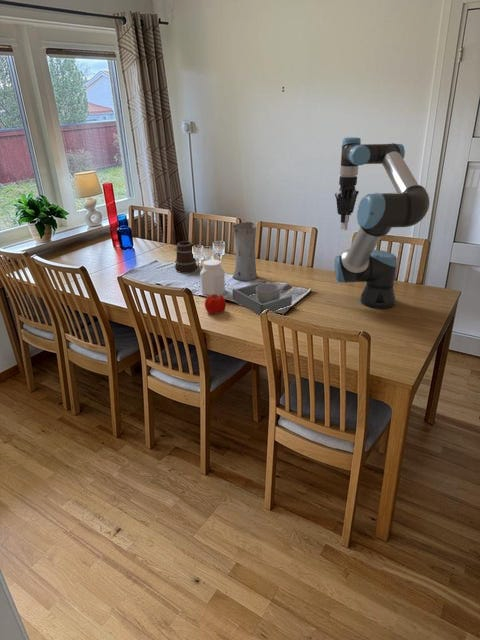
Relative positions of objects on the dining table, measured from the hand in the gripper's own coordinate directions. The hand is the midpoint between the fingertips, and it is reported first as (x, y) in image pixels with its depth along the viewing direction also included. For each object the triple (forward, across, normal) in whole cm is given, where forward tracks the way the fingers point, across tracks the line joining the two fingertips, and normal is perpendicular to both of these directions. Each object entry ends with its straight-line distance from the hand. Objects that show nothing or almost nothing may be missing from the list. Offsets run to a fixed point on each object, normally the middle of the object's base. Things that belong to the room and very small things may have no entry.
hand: (343, 229), depth 202 cm
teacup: (+30, +37, -8) cm, 48 cm away
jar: (+30, +51, -34) cm, 68 cm away
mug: (+30, +44, -72) cm, 89 cm away
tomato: (+30, +62, -13) cm, 70 cm away
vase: (+30, +28, -40) cm, 57 cm away
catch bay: (+29, +40, -9) cm, 51 cm away
